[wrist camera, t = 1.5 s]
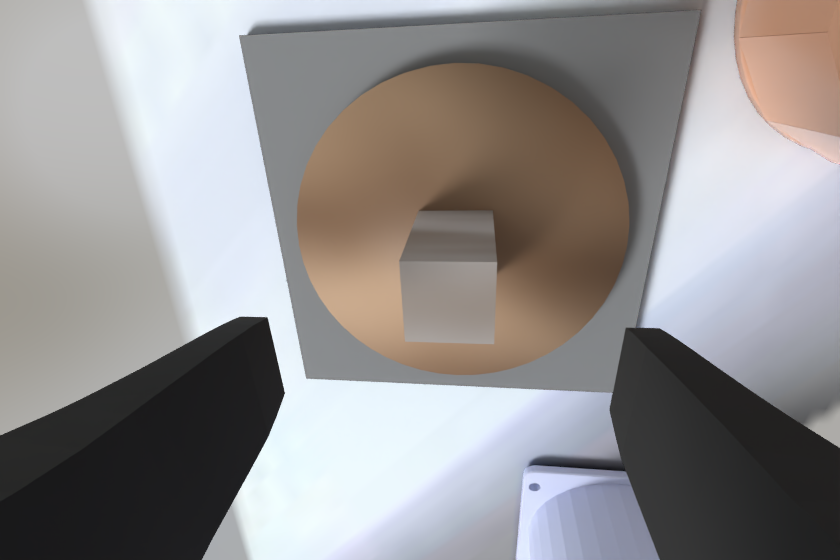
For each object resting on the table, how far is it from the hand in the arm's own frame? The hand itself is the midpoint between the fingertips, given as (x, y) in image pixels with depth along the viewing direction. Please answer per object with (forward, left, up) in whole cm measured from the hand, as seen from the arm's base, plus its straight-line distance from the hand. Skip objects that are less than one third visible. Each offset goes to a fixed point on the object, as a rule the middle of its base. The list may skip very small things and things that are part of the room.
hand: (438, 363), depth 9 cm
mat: (0, 0, -8) cm, 8 cm away
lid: (0, 0, -7) cm, 7 cm away
